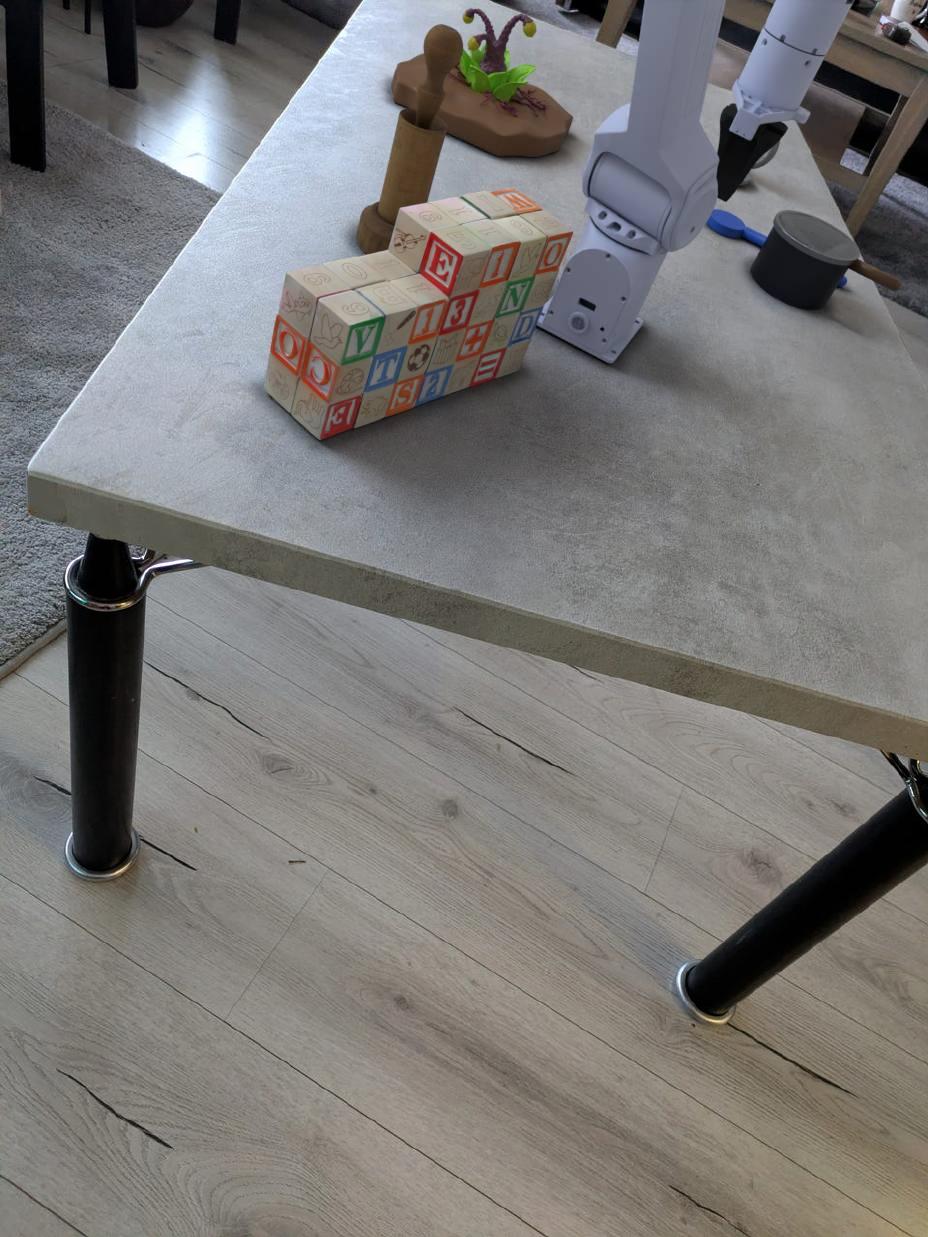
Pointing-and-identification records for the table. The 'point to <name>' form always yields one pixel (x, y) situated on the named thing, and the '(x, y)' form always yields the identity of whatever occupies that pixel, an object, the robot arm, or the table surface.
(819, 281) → the pot
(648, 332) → the table surface
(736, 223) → the spoon
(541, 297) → the stack of blocks
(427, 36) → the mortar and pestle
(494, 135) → the plant
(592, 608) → the table surface
